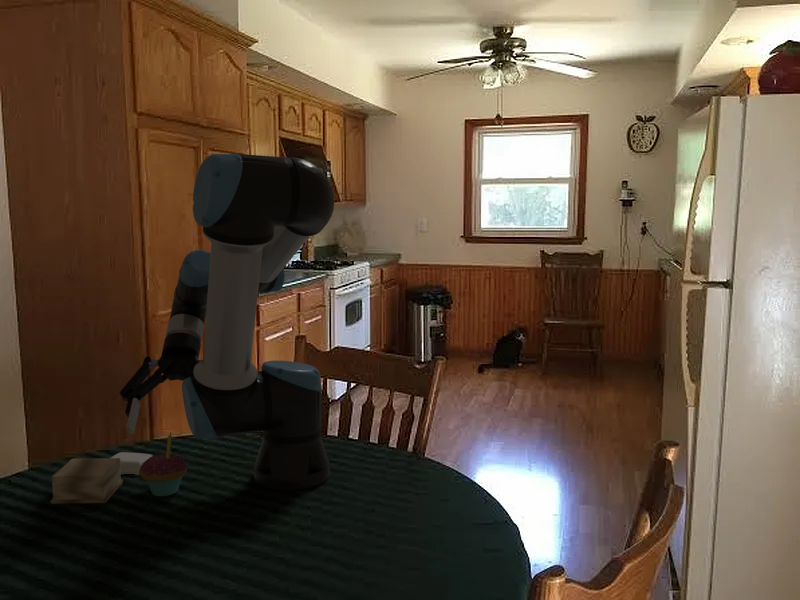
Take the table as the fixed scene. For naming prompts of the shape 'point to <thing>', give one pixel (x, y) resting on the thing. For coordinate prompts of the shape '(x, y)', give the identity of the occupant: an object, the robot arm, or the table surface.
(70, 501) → the pedestal
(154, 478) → the cupcake
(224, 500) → the table surface
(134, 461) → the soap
